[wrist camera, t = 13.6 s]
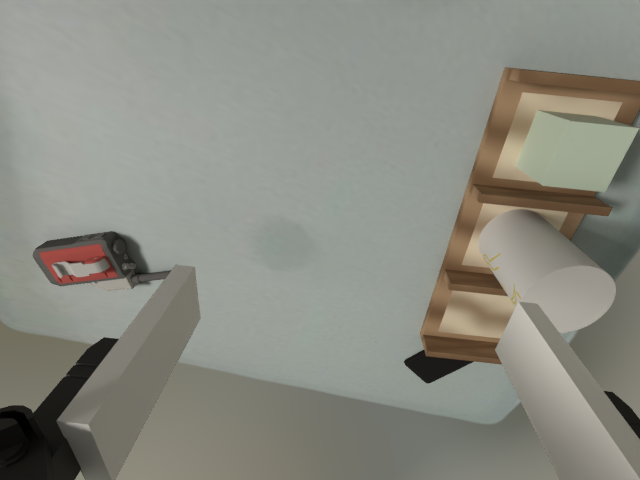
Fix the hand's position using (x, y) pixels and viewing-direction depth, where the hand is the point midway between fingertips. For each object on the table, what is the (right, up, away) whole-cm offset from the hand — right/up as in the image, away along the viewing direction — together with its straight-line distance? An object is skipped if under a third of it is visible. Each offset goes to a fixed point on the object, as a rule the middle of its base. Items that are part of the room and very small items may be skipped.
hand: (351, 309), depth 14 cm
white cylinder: (+23, +3, +28) cm, 37 cm away
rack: (+23, +4, +29) cm, 37 cm away
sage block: (+24, +13, +22) cm, 35 cm away
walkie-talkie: (-31, 0, +36) cm, 47 cm away
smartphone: (+20, -15, +41) cm, 48 cm away
